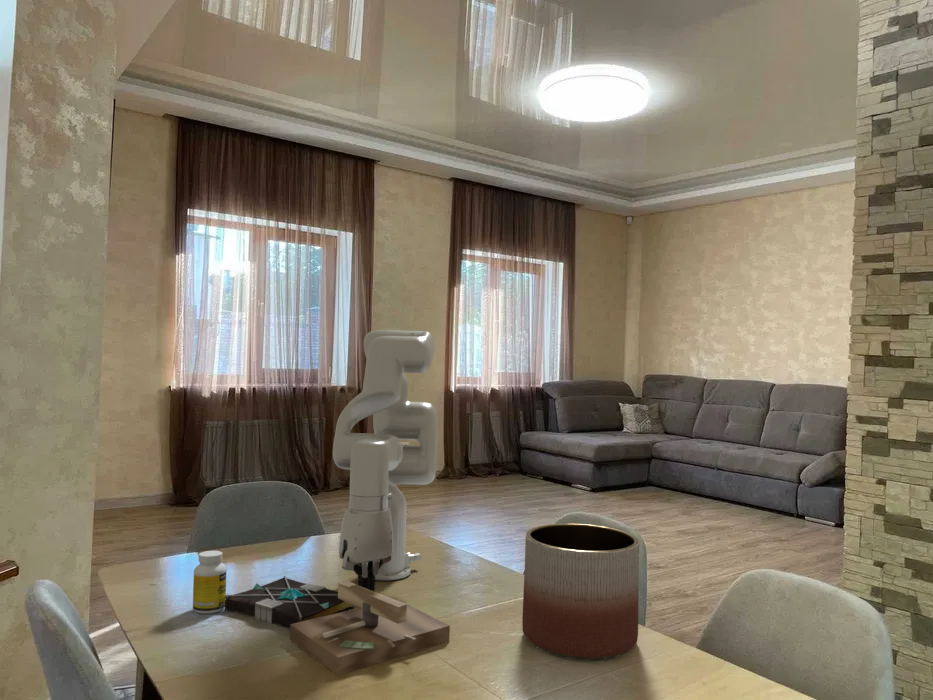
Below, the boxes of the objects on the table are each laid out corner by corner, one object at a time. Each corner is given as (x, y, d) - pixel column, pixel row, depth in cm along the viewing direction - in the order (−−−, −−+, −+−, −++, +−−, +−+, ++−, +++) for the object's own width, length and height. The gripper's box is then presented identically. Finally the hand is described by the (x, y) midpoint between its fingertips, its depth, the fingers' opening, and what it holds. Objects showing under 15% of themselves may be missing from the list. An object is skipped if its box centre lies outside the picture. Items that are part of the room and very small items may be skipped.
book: (223, 612, 148) (224, 588, 148) (283, 590, 163) (283, 568, 163) (299, 636, 137) (300, 610, 137) (356, 610, 151) (357, 587, 151)
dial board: (396, 613, 149) (396, 598, 149) (455, 644, 134) (455, 627, 134) (289, 640, 134) (290, 623, 134) (342, 679, 119) (343, 659, 119)
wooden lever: (347, 608, 142) (348, 580, 142) (408, 635, 129) (408, 603, 129) (295, 624, 133) (296, 593, 133) (355, 654, 121) (356, 620, 121)
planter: (568, 610, 153) (570, 517, 154) (659, 642, 138) (662, 538, 138) (498, 637, 138) (501, 533, 138) (592, 676, 122) (595, 559, 122)
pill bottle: (215, 616, 145) (217, 558, 145) (186, 613, 146) (187, 556, 146) (231, 605, 151) (232, 550, 151) (202, 603, 152) (204, 548, 152)
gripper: (389, 494, 148) (386, 582, 148) (325, 503, 138) (323, 597, 138) (410, 501, 142) (408, 592, 142) (345, 511, 133) (343, 609, 133)
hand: (366, 595), depth 140 cm, fingers closed
